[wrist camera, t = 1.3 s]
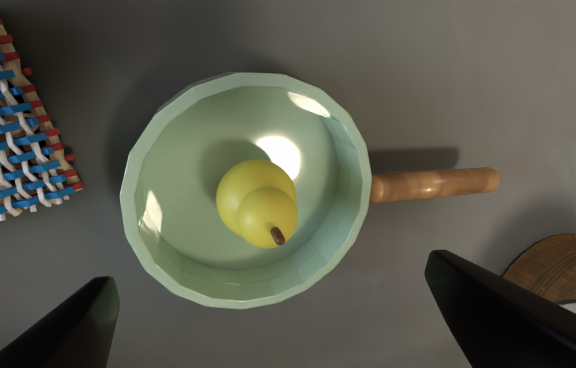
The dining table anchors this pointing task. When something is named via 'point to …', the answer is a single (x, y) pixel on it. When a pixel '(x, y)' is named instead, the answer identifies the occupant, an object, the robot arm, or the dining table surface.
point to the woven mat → (28, 143)
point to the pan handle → (432, 184)
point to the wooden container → (548, 270)
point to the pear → (258, 203)
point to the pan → (214, 165)
